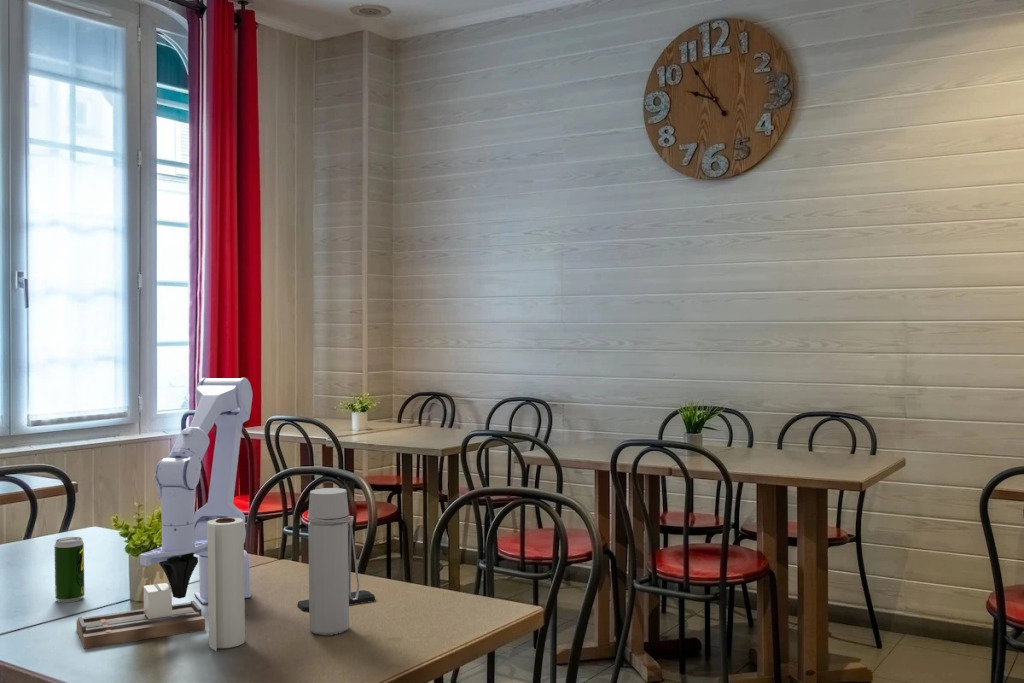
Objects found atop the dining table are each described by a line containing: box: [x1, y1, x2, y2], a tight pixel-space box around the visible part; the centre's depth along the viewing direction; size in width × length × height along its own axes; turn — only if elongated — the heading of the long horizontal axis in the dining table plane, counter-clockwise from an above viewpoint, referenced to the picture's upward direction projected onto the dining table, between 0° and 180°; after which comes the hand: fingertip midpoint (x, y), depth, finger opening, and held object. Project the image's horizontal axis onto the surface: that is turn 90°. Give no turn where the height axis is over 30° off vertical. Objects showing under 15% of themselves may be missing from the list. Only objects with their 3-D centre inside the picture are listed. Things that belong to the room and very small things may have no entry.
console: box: [75, 600, 206, 650], centre depth 176 cm, size 20×12×3 cm, turn 120°
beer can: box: [54, 536, 85, 604], centre depth 196 cm, size 5×5×12 cm
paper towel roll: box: [207, 518, 246, 653], centre depth 168 cm, size 7×6×21 cm
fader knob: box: [143, 582, 173, 619], centre depth 178 cm, size 4×5×5 cm
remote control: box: [296, 589, 376, 612], centre depth 192 cm, size 5×2×15 cm
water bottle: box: [306, 487, 360, 636], centre depth 175 cm, size 9×8×25 cm
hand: (179, 597), depth 180 cm, fingers closed
